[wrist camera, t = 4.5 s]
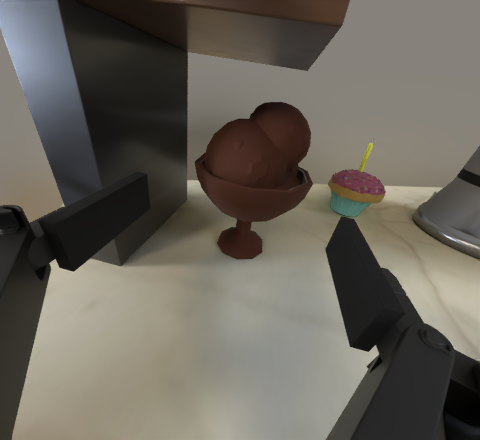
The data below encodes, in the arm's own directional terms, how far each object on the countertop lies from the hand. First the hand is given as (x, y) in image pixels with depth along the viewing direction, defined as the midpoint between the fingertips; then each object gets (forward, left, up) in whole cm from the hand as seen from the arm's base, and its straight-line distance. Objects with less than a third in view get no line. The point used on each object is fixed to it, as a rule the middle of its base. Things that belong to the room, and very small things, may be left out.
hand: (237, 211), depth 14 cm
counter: (+5, -7, -8) cm, 12 cm away
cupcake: (-16, -23, -9) cm, 30 cm away
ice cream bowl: (0, -7, -9) cm, 11 cm away
